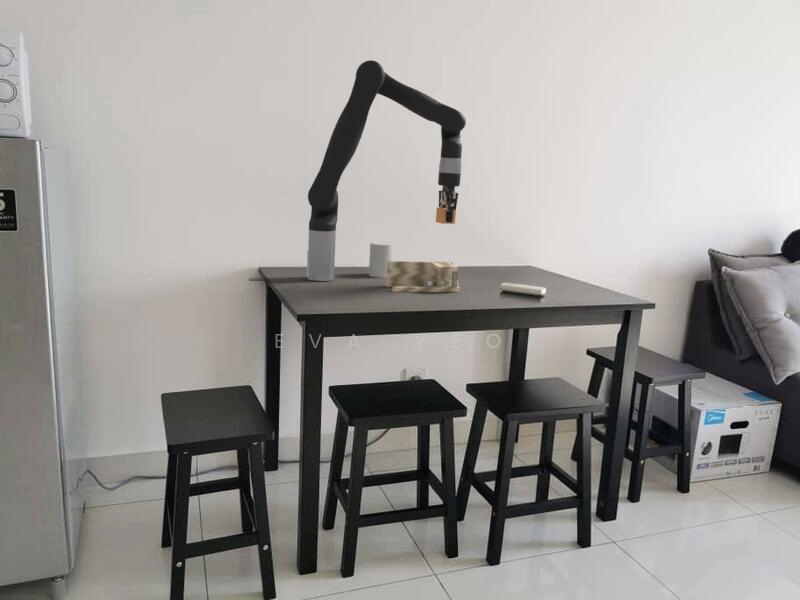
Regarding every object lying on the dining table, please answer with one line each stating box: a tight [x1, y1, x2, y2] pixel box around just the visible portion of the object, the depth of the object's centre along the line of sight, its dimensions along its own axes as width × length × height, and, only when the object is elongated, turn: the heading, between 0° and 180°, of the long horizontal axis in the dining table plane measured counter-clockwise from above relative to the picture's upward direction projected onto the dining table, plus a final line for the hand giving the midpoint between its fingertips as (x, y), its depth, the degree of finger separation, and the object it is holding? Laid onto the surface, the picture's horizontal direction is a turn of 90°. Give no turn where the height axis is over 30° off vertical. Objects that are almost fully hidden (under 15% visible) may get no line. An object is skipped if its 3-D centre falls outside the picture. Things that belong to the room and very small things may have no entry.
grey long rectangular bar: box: [423, 279, 460, 287], centre depth 214 cm, size 12×3×4 cm, turn 116°
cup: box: [368, 241, 393, 279], centre depth 232 cm, size 8×8×12 cm
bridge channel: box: [385, 260, 461, 293], centre depth 212 cm, size 23×10×8 cm, turn 105°
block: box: [435, 207, 457, 225], centre depth 218 cm, size 5×5×5 cm
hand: (446, 221), depth 218 cm, fingers closed on block, 5 cm apart
